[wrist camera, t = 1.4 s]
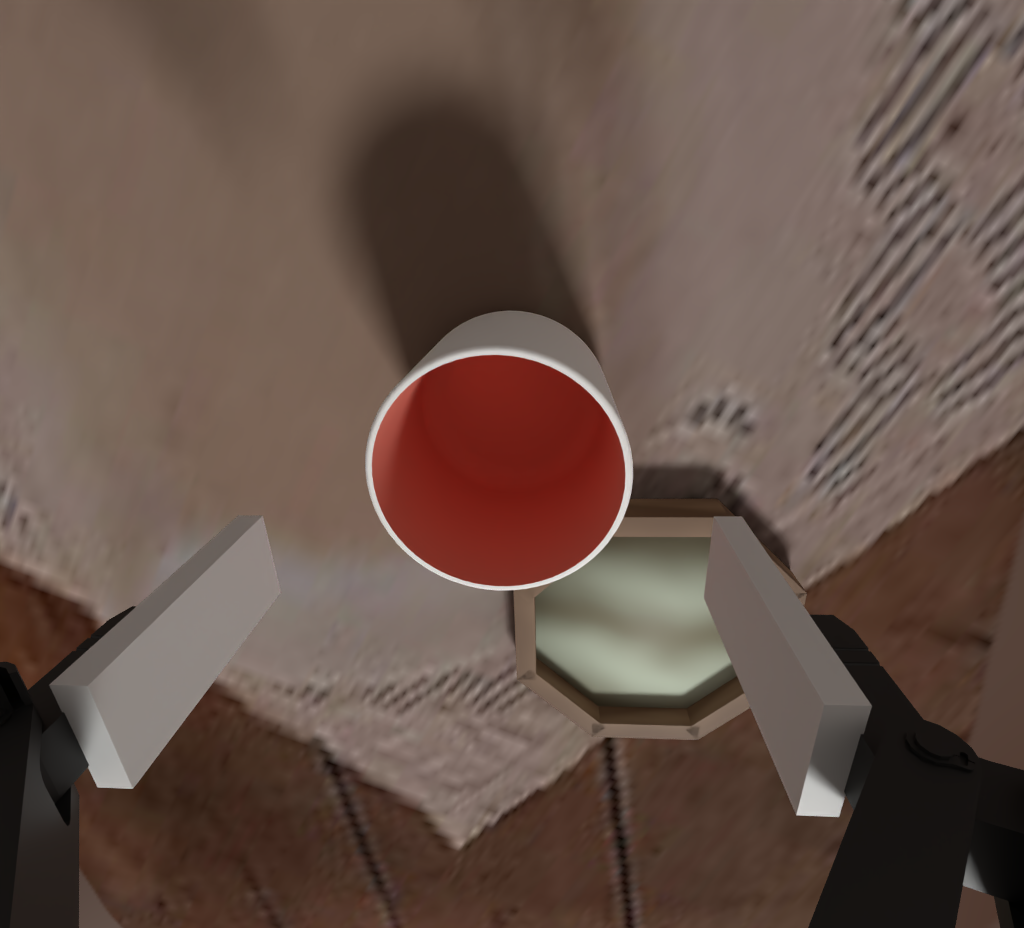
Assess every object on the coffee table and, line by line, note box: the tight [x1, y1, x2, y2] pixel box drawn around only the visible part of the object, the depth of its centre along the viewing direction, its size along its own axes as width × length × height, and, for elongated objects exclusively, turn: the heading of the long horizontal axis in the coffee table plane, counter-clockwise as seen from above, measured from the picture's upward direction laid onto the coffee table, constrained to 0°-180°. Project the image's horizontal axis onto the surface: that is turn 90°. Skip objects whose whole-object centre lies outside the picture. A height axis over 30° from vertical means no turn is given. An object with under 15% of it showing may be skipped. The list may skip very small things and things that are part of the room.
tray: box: [513, 499, 807, 740], centre depth 33 cm, size 16×16×2 cm
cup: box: [365, 311, 633, 590], centre depth 25 cm, size 10×10×10 cm
